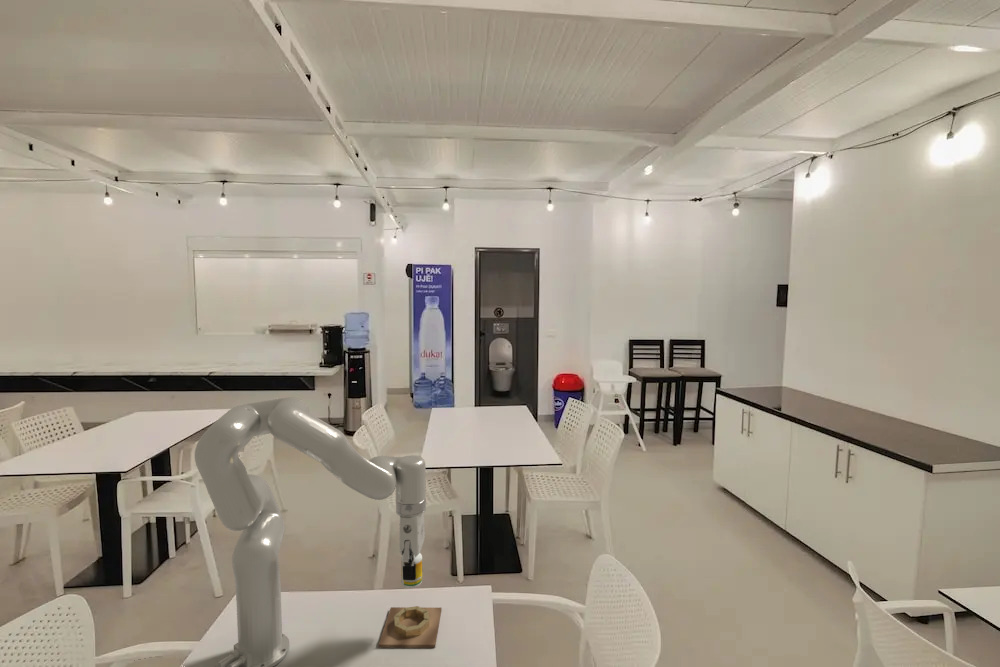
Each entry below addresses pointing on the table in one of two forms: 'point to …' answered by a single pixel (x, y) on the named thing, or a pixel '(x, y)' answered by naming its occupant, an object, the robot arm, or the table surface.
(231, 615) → the table surface
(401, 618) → the collar
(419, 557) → the supplement bottle
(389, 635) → the base plate
